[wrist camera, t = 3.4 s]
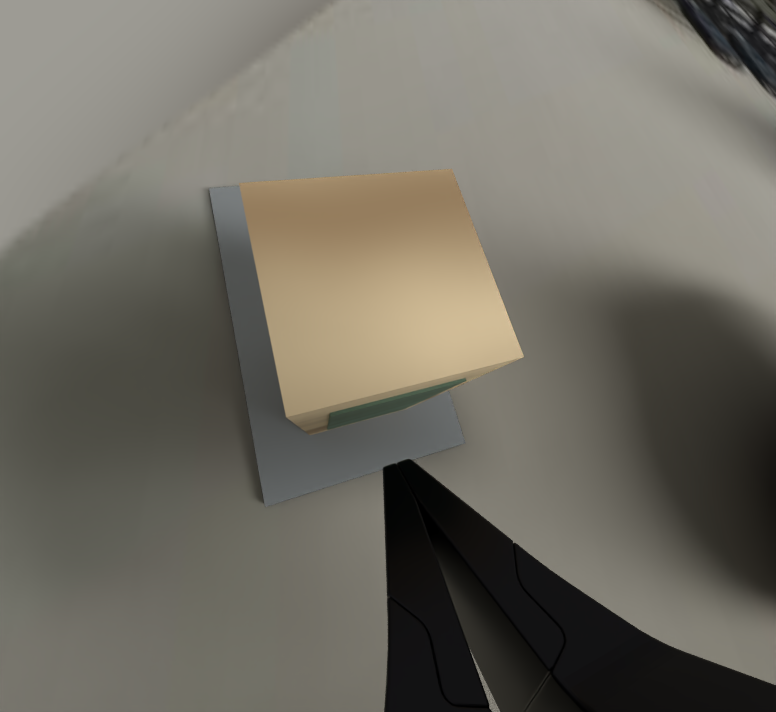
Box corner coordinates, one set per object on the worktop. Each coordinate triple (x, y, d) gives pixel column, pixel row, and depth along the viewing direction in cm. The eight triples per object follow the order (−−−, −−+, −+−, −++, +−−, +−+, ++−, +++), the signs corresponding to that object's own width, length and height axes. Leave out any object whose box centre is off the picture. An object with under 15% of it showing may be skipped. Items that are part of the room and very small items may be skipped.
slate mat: (462, 442, 17) (465, 443, 16) (266, 505, 14) (265, 507, 14) (379, 181, 20) (379, 176, 20) (211, 193, 18) (208, 188, 17)
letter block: (407, 410, 16) (525, 360, 7) (310, 436, 15) (286, 421, 5) (381, 320, 17) (451, 168, 8) (288, 337, 16) (238, 182, 7)
